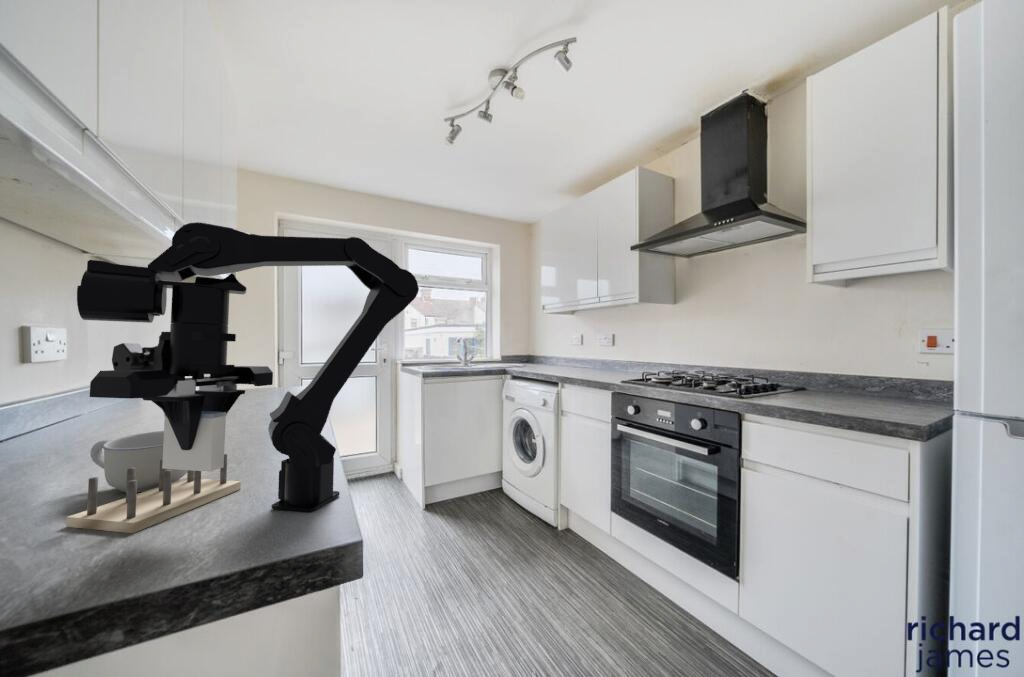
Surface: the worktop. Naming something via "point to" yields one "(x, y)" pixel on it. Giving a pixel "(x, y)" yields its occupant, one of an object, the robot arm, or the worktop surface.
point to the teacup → (133, 460)
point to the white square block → (197, 445)
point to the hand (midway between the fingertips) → (194, 447)
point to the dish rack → (151, 501)
